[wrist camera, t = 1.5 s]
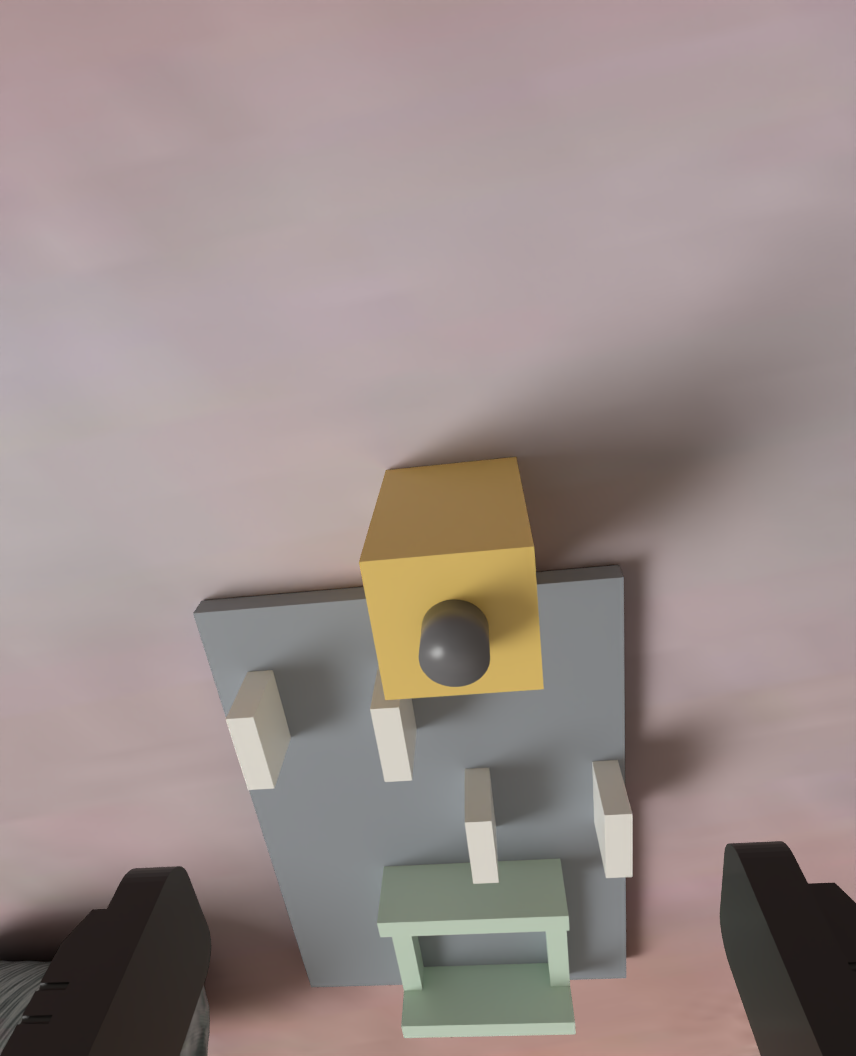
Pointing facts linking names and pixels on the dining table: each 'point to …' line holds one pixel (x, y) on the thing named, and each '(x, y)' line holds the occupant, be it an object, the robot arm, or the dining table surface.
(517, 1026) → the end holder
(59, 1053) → the robot arm
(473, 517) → the yellow drawer
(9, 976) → the spool
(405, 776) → the white blocks
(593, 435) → the dining table surface
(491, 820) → the white blocks
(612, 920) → the board
